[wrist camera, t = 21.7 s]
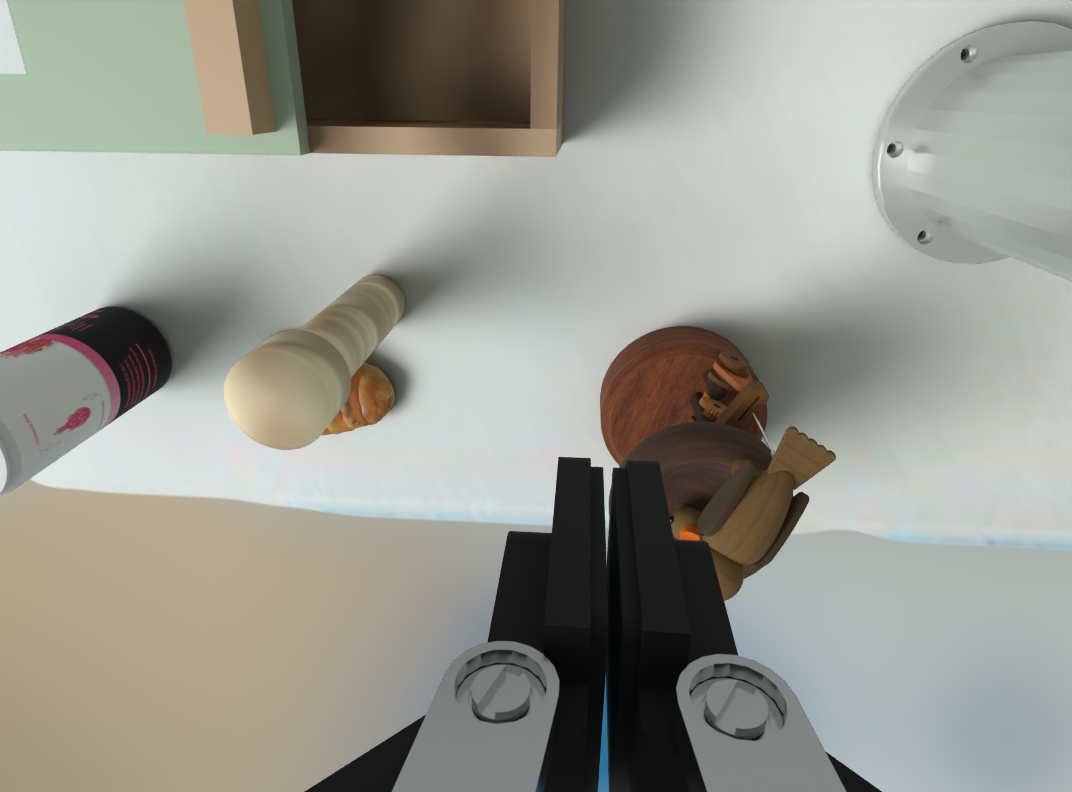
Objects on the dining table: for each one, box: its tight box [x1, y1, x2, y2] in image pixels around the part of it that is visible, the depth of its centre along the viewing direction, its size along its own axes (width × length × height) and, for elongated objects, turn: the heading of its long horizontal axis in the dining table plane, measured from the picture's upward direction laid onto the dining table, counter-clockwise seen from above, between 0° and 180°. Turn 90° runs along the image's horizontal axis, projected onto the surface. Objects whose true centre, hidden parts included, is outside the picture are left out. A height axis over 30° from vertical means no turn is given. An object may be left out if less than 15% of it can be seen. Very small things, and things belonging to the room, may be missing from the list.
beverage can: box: [0, 307, 172, 498], centre depth 41 cm, size 6×6×15 cm
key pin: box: [224, 275, 405, 450], centre depth 38 cm, size 5×5×16 cm
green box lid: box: [0, 0, 310, 155], centre depth 29 cm, size 20×12×4 cm, turn 89°
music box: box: [600, 327, 836, 601], centre depth 38 cm, size 15×11×20 cm
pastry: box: [321, 362, 395, 435], centre depth 46 cm, size 9×7×4 cm
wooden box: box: [292, 0, 566, 157], centre depth 34 cm, size 20×12×9 cm, turn 89°
